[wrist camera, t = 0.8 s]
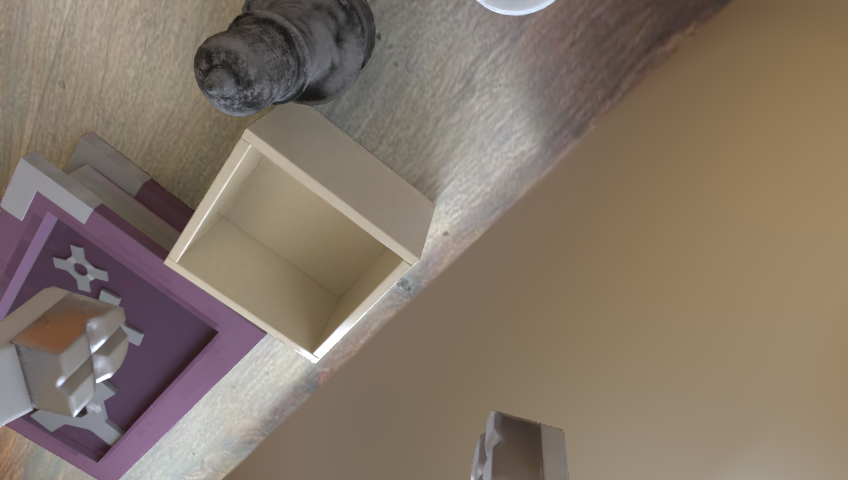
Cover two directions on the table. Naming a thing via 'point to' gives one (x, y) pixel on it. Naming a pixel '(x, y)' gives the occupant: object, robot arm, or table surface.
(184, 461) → the table surface
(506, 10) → the pill bottle
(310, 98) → the chess bishop
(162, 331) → the book
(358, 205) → the cream bin
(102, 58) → the table surface
